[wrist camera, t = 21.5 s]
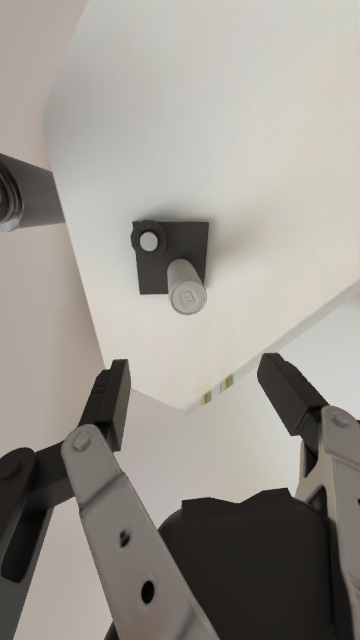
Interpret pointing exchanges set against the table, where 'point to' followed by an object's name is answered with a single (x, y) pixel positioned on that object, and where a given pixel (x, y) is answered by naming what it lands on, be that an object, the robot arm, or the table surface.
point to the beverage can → (185, 288)
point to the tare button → (149, 241)
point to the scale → (168, 251)
